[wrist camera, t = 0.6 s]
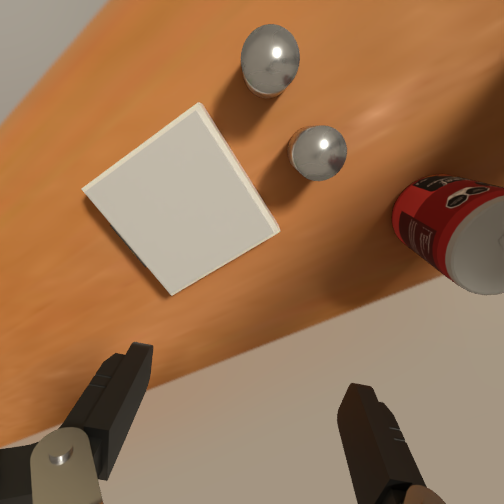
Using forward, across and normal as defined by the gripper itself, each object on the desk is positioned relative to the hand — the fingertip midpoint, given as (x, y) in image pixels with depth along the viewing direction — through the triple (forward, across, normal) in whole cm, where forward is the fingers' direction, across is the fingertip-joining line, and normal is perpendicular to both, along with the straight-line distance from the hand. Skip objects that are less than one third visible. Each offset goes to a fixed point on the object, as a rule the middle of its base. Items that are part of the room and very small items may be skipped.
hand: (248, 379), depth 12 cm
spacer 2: (+22, -4, -8) cm, 24 cm away
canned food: (+23, -17, -5) cm, 29 cm away
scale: (+22, +7, 0) cm, 23 cm away
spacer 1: (+22, +2, -14) cm, 26 cm away
